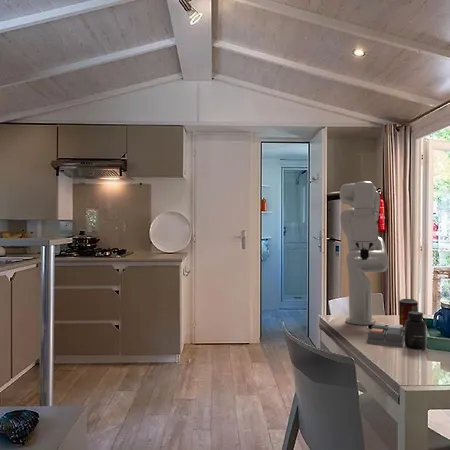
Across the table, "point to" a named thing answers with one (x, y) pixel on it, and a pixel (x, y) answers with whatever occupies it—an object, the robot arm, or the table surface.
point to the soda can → (406, 309)
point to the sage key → (380, 325)
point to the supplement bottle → (415, 331)
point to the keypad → (386, 337)
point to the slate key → (394, 330)
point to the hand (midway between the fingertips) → (364, 259)
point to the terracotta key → (376, 330)
